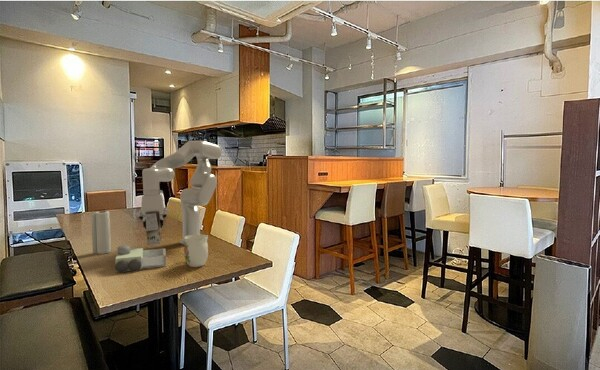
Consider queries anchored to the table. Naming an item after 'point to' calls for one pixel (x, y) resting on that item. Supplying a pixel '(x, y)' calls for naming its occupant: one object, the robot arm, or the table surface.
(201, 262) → the pitcher
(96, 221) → the grey tall block
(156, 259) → the grey open drawer
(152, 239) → the coffee box
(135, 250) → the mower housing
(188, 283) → the table surface
